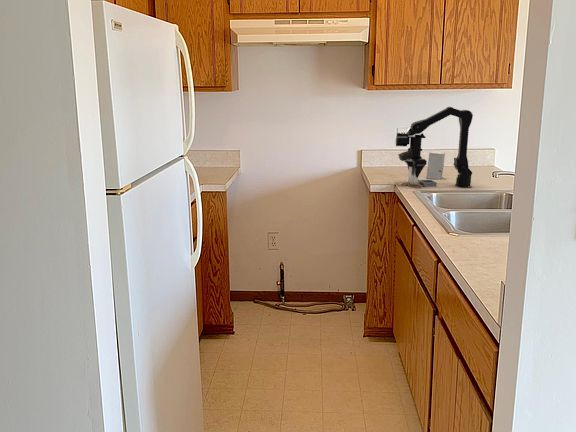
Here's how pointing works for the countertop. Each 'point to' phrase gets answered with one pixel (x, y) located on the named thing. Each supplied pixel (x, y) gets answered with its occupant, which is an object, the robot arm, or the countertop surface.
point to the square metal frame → (427, 182)
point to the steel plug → (412, 176)
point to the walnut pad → (412, 184)
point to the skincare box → (435, 165)
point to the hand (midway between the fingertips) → (413, 175)
